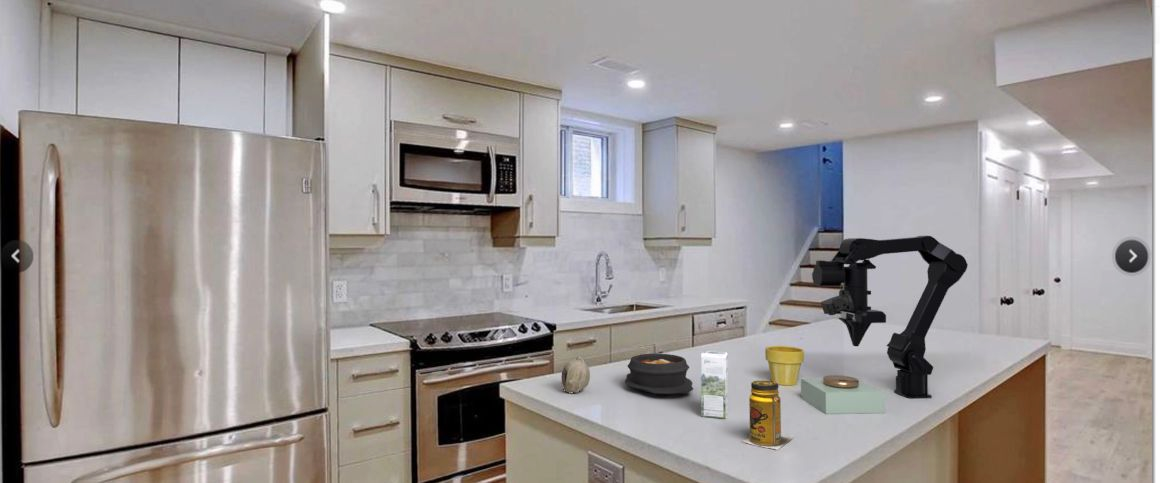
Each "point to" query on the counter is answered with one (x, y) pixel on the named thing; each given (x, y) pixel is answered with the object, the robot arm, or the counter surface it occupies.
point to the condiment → (765, 416)
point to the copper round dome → (841, 381)
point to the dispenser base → (842, 397)
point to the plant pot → (784, 363)
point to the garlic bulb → (575, 375)
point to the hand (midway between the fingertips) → (855, 346)
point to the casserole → (659, 374)
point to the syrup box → (714, 384)
